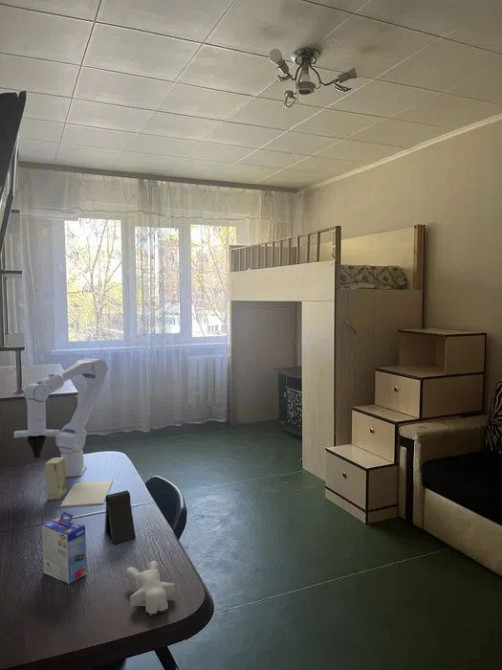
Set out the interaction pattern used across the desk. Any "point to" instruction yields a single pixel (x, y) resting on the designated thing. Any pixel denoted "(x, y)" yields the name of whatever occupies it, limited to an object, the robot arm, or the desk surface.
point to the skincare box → (55, 478)
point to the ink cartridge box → (64, 548)
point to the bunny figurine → (150, 588)
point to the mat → (87, 493)
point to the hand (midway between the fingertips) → (37, 457)
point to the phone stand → (119, 517)
